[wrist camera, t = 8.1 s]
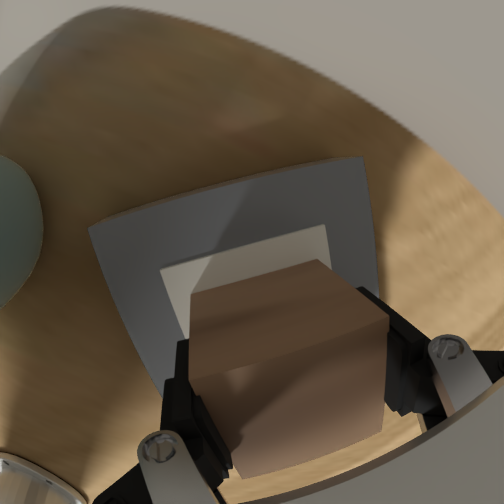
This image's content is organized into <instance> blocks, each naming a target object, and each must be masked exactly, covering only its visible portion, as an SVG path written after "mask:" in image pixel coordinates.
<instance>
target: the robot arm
mask: <svg viewBox="0 0 504 504" xmlns="http://www.w3.org/2000/svg"><path fill="white" fill-rule="evenodd" d="M355 289H357V290H358V291H359V292H360V293H362V294H363V295H364V296H365V297H367V298H368V299H369V300H370V301H372V302H373V303H374V304H375V305H377V306H378V307H379V308H380V309H381V310H383V311H384V312H385V313H386V314H388V315H389V332H388V333H387V358H386V378H385V392H384V401H385V402H386V404H387V405H388V406H389V408H390V409H391V410H392V411H393V412H395V411H397V412H398V413H399V414H400V415H401V417H402V416H404V415H406V414H408V413H410V412H411V411H412V412H413V413H417V417H418V421H419V424H420V428H421V431H422V434H421V435H420V436H418V437H416V438H414V439H413V440H411V441H409V442H407V443H405V444H404V445H402V446H400V447H398V448H396V449H394V450H392V451H390V452H388V453H386V454H384V455H382V456H380V457H378V458H376V459H374V460H372V461H370V462H368V463H365V464H363V465H361V466H359V467H356V468H354V469H351V470H349V471H347V472H344V473H342V474H339V475H337V476H334V477H331V478H329V479H326V480H323V481H320V482H317V483H314V484H311V485H308V486H305V487H302V488H299V489H296V490H292V491H289V492H286V493H282V494H278V495H274V496H271V497H267V498H262V499H258V500H254V501H249V502H244V503H239V504H504V351H477V350H471V348H470V347H469V345H468V344H467V342H466V341H465V340H464V339H462V338H461V337H459V336H456V335H449V334H446V335H440V336H438V337H435V338H434V339H433V340H430V339H429V338H428V337H427V336H425V335H424V334H423V333H422V332H420V331H419V330H418V329H417V328H415V327H414V326H413V325H412V324H411V323H409V322H408V321H407V320H406V319H404V318H403V317H402V316H401V315H399V314H398V313H397V312H395V311H394V310H393V309H392V308H390V307H389V306H388V305H387V304H385V303H384V302H383V301H381V300H380V299H379V298H378V297H376V296H375V295H374V294H372V293H371V292H370V291H369V290H367V289H366V288H365V287H363V286H360V287H358V288H355ZM137 456H138V460H139V463H138V464H137V465H136V466H134V467H133V468H132V469H131V470H130V471H128V472H127V473H126V474H125V475H124V476H122V477H121V478H120V479H119V480H117V481H116V482H115V483H114V484H112V485H111V486H110V487H109V488H107V489H106V490H105V491H103V492H102V493H101V494H100V495H98V496H97V497H96V498H95V499H94V501H93V503H92V504H228V502H227V501H226V499H225V498H224V496H223V494H222V493H221V491H220V490H219V488H218V486H219V485H220V484H221V483H222V482H223V479H225V478H229V473H228V469H233V464H232V458H231V453H230V451H229V449H228V448H227V446H226V444H225V442H224V441H223V439H222V437H221V435H220V433H219V431H218V430H217V428H216V426H215V424H214V422H213V420H212V418H211V416H210V414H209V412H208V410H207V409H206V407H205V405H204V403H203V401H202V399H201V397H200V395H197V396H196V394H195V392H194V390H193V388H192V386H191V384H190V382H189V338H188V339H184V340H180V341H177V348H176V360H175V372H174V377H173V378H169V379H166V380H165V382H164V391H163V401H162V412H161V424H160V431H156V432H153V433H151V434H149V435H147V436H146V437H145V438H144V439H143V440H142V441H141V442H140V444H139V446H138V449H137ZM0 504H87V503H86V501H85V499H84V498H83V497H82V496H81V495H80V494H79V492H77V491H76V490H75V489H74V488H73V487H71V486H70V485H68V484H67V483H66V482H64V481H63V480H61V479H59V478H58V477H56V476H55V475H53V474H51V473H50V472H48V471H46V470H44V469H43V468H41V467H39V466H37V465H35V464H33V463H31V462H29V461H27V460H25V459H22V458H20V457H17V456H15V455H12V454H8V453H0Z"/></svg>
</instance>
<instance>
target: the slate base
mask: <svg viewBox="0 0 504 504" xmlns="http://www.w3.org/2000/svg"><path fill="white" fill-rule="evenodd" d="M87 229H88V233H89V236H90V239H91V242H92V245H93V248H94V250H95V253H96V256H97V259H98V262H99V264H100V267H101V270H102V273H103V275H104V278H105V280H106V283H107V285H108V288H109V290H110V293H111V295H112V298H113V300H114V302H115V305H116V307H117V309H118V312H119V314H120V316H121V319H122V321H123V323H124V325H125V327H126V330H127V332H128V334H129V336H130V338H131V340H132V342H133V344H134V346H135V348H136V350H137V352H138V354H139V356H140V358H141V360H142V362H143V364H144V366H145V368H146V370H147V372H148V373H149V375H150V377H151V379H152V381H153V383H154V384H155V386H156V388H157V390H158V392H159V393H160V395H161V397H162V398H163V391H164V382H165V380H166V379H169V378H173V377H174V372H175V360H176V348H177V341H180V340H184V339H188V338H189V323H190V296H191V294H193V293H196V292H200V291H204V290H208V289H211V288H215V287H219V286H222V285H226V284H230V283H233V282H237V281H241V280H244V279H248V278H251V277H255V276H259V275H262V274H266V273H269V272H273V271H276V270H280V269H283V268H287V267H290V266H294V265H297V264H301V263H304V262H307V261H311V260H314V259H318V260H319V261H321V262H322V263H323V264H325V265H326V266H327V267H329V268H330V269H331V270H332V271H334V272H335V273H336V274H338V275H339V276H340V277H341V278H343V279H344V280H345V281H346V282H348V283H349V284H350V285H352V286H353V287H354V288H358V287H360V286H363V287H365V288H366V289H367V290H369V291H370V292H371V293H372V294H374V295H375V296H376V297H378V298H379V285H378V270H377V257H376V246H375V236H374V227H373V218H372V210H371V203H370V196H369V189H368V183H367V177H366V171H365V165H364V160H363V156H357V157H335V158H329V159H324V160H319V161H313V162H308V163H303V164H299V165H294V166H289V167H284V168H280V169H275V170H271V171H267V172H262V173H258V174H254V175H250V176H245V177H241V178H237V179H233V180H229V181H225V182H222V183H218V184H214V185H210V186H206V187H203V188H199V189H196V190H192V191H188V192H185V193H181V194H178V195H174V196H171V197H168V198H164V199H161V200H158V201H154V202H151V203H148V204H145V205H142V206H138V207H135V208H132V209H129V210H126V211H123V212H120V213H117V214H114V215H111V216H108V217H106V218H104V219H103V220H101V221H99V222H97V223H95V224H94V225H92V226H90V227H88V228H87Z"/></svg>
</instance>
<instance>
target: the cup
mask: <svg viewBox="0 0 504 504" xmlns="http://www.w3.org/2000/svg"><path fill="white" fill-rule="evenodd" d="M42 241H43V214H42V208H41V203H40V199H39V196H38V193H37V190H36V188H35V186H34V184H33V182H32V180H31V178H30V176H29V175H28V174H27V172H26V171H25V170H24V169H23V167H21V166H20V165H19V164H17V163H16V162H14V161H13V160H12V159H10V158H8V157H5V156H3V155H0V310H1V309H2V308H3V307H4V306H5V305H6V304H7V303H8V302H9V301H10V300H11V299H12V298H13V297H14V296H15V295H16V294H17V293H18V292H19V290H20V289H21V288H22V287H23V285H24V284H25V283H26V281H27V280H28V278H29V276H30V275H31V273H32V272H33V270H34V268H35V266H36V264H37V262H38V259H39V256H40V253H41V248H42Z"/></svg>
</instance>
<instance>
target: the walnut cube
mask: <svg viewBox="0 0 504 504" xmlns="http://www.w3.org/2000/svg"><path fill="white" fill-rule="evenodd" d="M388 332H389V315H388V314H386V313H385V312H384V311H383V310H381V309H380V308H379V307H378V306H377V305H375V304H374V303H373V302H372V301H370V300H369V299H368V298H367V297H365V296H364V295H363V294H362V293H360V292H359V291H358V290H357V289H355V288H354V287H353V286H352V285H350V284H349V283H348V282H346V281H345V280H344V279H343V278H341V277H340V276H339V275H338V274H336V273H335V272H334V271H332V270H331V269H330V268H329V267H327V266H326V265H325V264H323V263H322V262H321V261H319V260H318V259H314V260H311V261H307V262H304V263H301V264H297V265H294V266H290V267H287V268H283V269H280V270H276V271H273V272H269V273H266V274H262V275H259V276H255V277H251V278H248V279H244V280H241V281H237V282H233V283H230V284H226V285H222V286H219V287H215V288H211V289H208V290H204V291H200V292H196V293H193V294H191V296H190V323H189V382H190V384H191V386H192V388H193V390H194V392H195V394H196V396H197V395H200V397H201V399H202V401H203V403H204V405H205V407H206V409H207V410H208V412H209V414H210V416H211V418H212V420H213V422H214V424H215V426H216V428H217V430H218V431H219V433H220V435H221V437H222V439H223V441H224V442H225V444H226V446H227V448H228V449H229V451H230V453H231V458H232V463H233V465H234V466H235V468H236V470H237V471H238V473H239V475H240V476H241V478H242V479H246V478H251V477H255V476H259V475H263V474H267V473H271V472H275V471H278V470H282V469H285V468H289V467H292V466H295V465H298V464H302V463H305V462H308V461H311V460H314V459H316V458H319V457H322V456H325V455H327V454H330V453H333V452H335V451H338V450H340V449H343V448H345V447H348V446H350V445H352V444H355V443H357V442H359V441H362V440H364V439H366V438H368V437H370V436H373V435H375V434H377V433H379V432H381V430H382V423H383V415H384V406H385V401H384V392H385V378H386V358H387V333H388Z"/></svg>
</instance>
